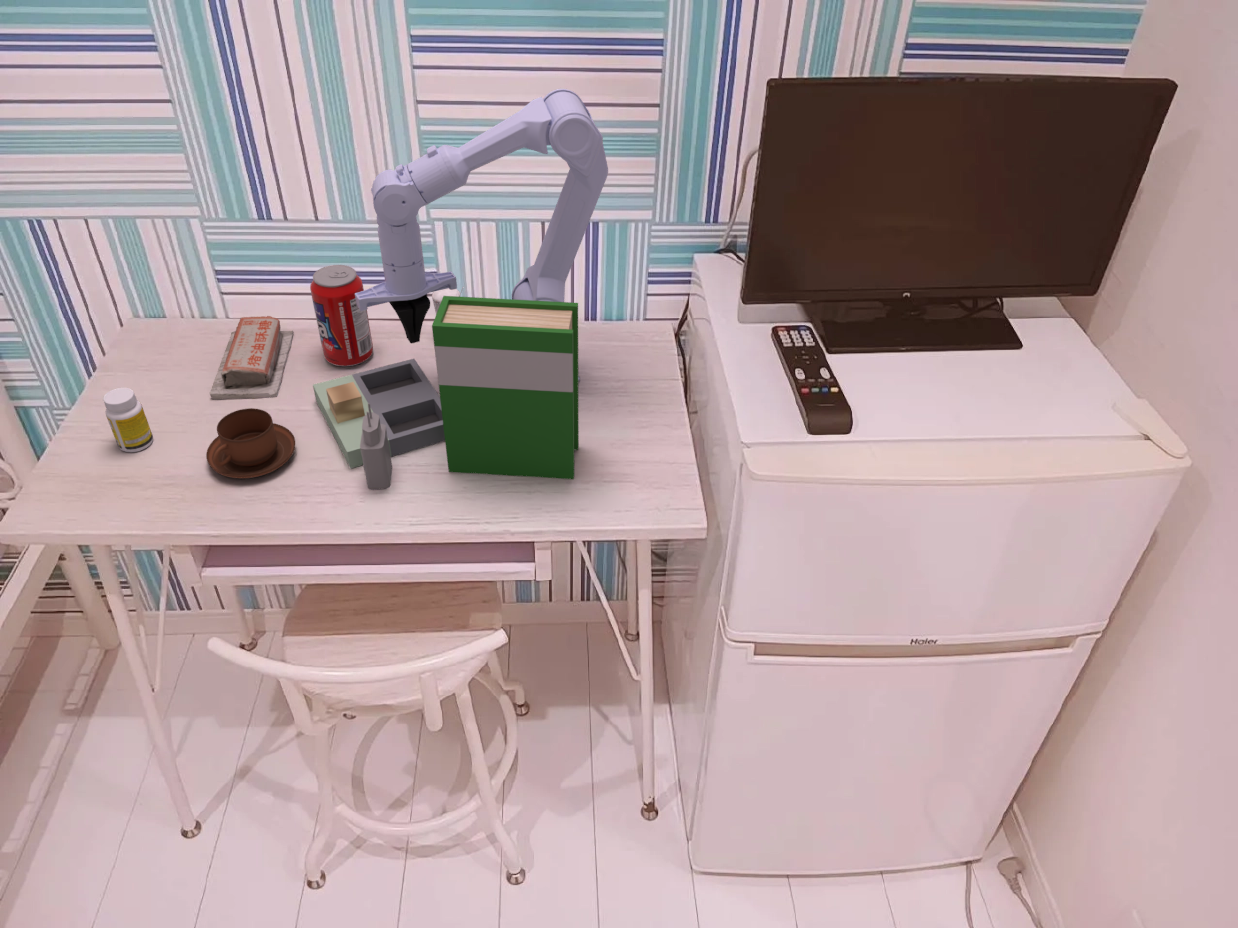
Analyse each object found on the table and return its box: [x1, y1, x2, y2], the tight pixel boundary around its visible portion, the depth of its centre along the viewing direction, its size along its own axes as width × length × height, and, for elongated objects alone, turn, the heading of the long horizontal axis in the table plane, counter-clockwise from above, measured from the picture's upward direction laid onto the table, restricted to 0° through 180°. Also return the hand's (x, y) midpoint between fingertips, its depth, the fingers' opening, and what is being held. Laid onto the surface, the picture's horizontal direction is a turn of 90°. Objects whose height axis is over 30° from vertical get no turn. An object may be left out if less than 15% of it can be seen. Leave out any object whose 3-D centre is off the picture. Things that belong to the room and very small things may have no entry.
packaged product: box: [209, 315, 294, 400], centre depth 156 cm, size 18×5×10 cm
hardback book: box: [431, 296, 580, 480], centre depth 133 cm, size 18×7×24 cm, turn 87°
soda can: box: [310, 264, 374, 367], centre depth 155 cm, size 8×8×15 cm
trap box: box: [312, 358, 445, 469], centre depth 147 cm, size 16×18×3 cm
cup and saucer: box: [205, 407, 296, 479], centre depth 138 cm, size 12×12×6 cm
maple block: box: [326, 382, 365, 423], centre depth 142 cm, size 4×4×4 cm
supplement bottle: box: [102, 387, 154, 453], centre depth 139 cm, size 5×5×8 cm
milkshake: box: [431, 286, 464, 315], centre depth 162 cm, size 4×5×10 cm
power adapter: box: [360, 403, 393, 491], centre depth 134 cm, size 3×5×12 cm, turn 6°
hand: (413, 339), depth 147 cm, fingers closed
